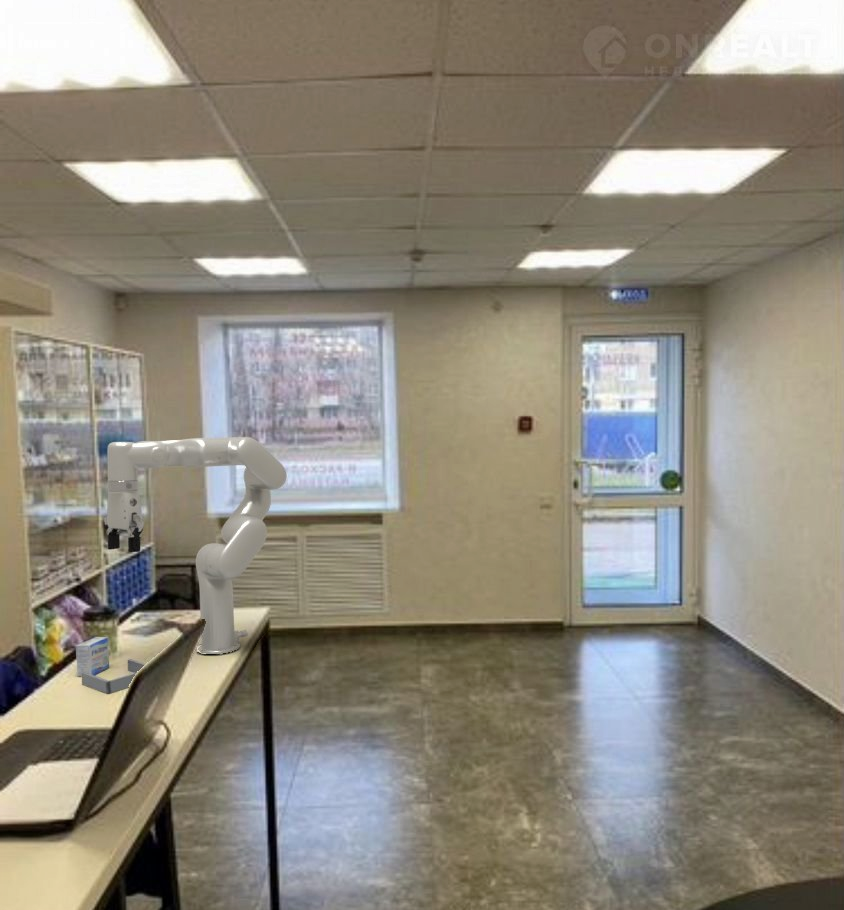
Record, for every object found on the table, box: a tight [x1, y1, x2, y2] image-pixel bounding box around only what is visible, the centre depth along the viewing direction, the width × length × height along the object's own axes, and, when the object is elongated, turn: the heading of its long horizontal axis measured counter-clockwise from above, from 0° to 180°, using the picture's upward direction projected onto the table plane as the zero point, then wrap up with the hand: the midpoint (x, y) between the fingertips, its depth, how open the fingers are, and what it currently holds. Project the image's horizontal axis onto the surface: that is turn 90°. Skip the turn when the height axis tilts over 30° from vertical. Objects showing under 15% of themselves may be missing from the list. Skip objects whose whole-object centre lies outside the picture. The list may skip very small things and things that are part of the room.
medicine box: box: [75, 636, 110, 677], centre depth 196 cm, size 8×4×9 cm, turn 168°
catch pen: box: [81, 658, 146, 695], centre depth 188 cm, size 14×13×3 cm
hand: (123, 550), depth 195 cm, fingers open, 9 cm apart
